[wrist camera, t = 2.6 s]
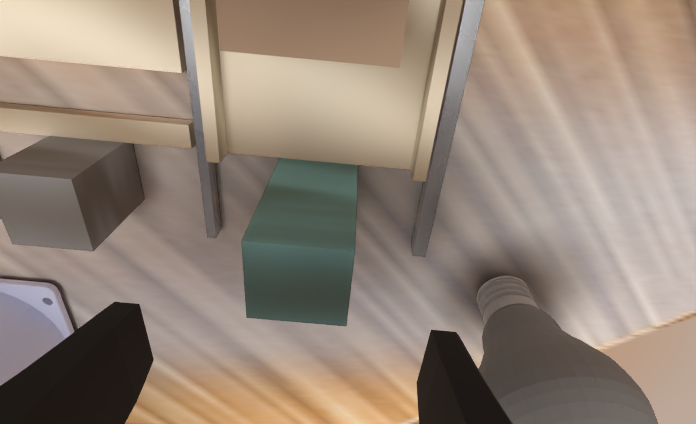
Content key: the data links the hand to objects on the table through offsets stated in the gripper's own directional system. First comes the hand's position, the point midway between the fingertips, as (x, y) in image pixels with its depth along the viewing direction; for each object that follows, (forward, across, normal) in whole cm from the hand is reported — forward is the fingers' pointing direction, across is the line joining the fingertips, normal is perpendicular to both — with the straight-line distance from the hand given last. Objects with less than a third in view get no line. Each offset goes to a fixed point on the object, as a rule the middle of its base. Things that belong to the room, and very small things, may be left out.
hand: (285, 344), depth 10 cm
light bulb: (+9, -10, +5) cm, 14 cm away
